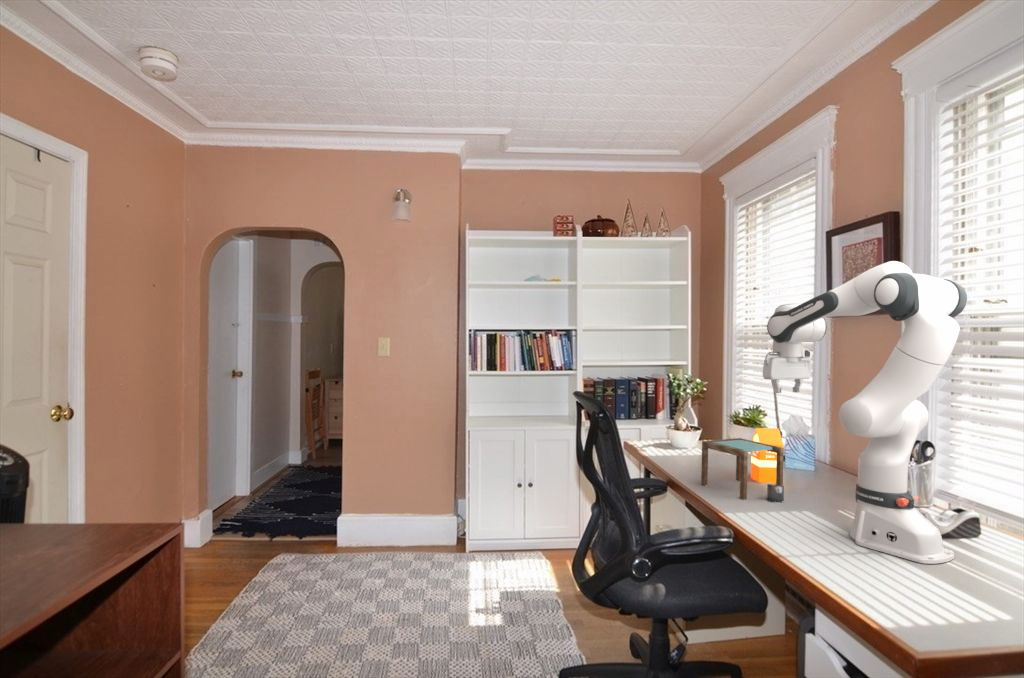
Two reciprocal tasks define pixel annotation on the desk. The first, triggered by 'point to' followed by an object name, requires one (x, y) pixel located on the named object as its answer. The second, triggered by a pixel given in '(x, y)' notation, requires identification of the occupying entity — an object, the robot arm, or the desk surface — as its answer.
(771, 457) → the orange juice
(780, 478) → the teal-topped side table
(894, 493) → the robot arm
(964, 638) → the desk surface
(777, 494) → the iron weight
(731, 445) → the trapdoor
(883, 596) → the desk surface
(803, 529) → the desk surface
